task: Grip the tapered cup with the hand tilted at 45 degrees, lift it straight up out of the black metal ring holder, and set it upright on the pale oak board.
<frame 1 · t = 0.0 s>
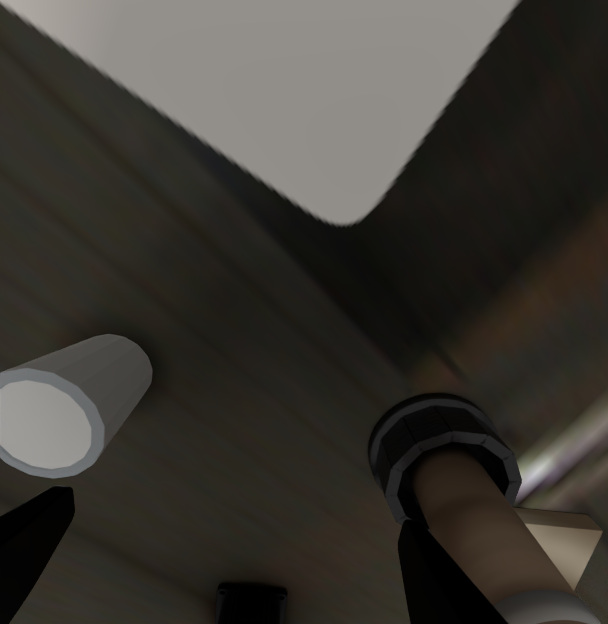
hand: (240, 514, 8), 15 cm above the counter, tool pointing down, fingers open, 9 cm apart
oak board: (499, 560, 28), on the counter
tapered cup: (435, 457, 24), point 1 cm above the counter, touching ring holder
ring holder: (430, 448, 25), on the counter
shot glass: (116, 368, 24), on the counter
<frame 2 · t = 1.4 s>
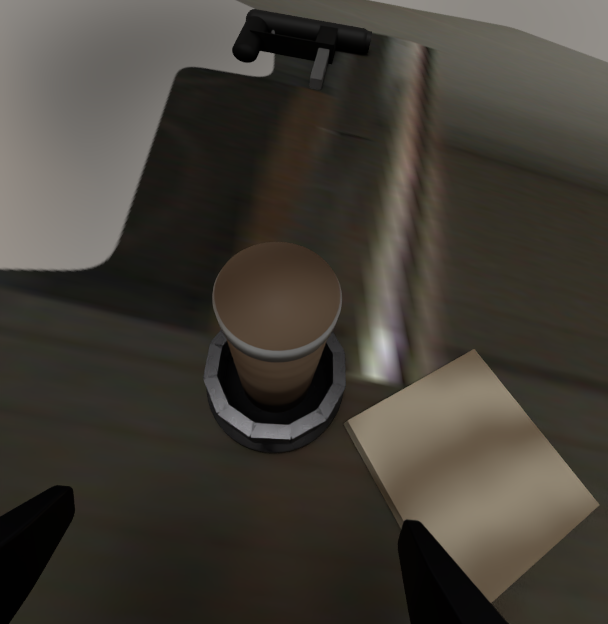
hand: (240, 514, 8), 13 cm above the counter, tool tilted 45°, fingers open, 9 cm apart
oak board: (458, 462, 22), on the counter
tapered cup: (276, 377, 23), point 1 cm above the counter, touching ring holder
door handle: (301, 62, 49), on the counter
ring holder: (276, 381, 24), on the counter
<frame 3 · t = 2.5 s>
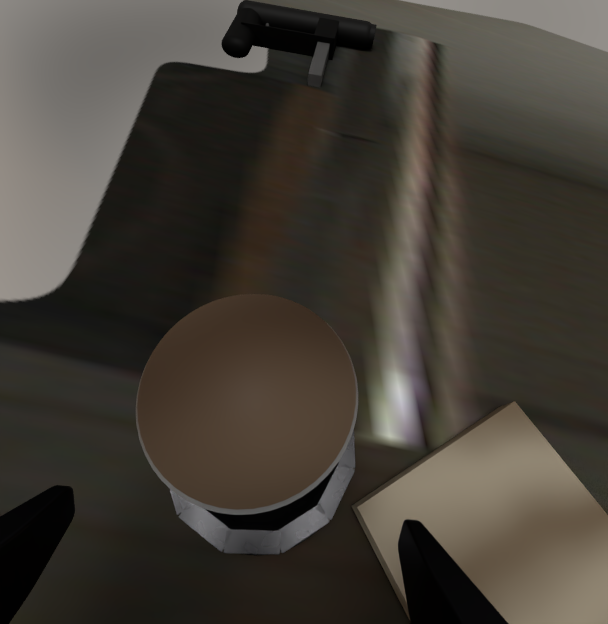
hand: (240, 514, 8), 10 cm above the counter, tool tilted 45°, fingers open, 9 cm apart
oak board: (502, 558, 17), on the counter
tapered cup: (264, 444, 18), point 1 cm above the counter, touching ring holder
door handle: (298, 58, 44), on the counter
ring holder: (264, 446, 19), on the counter
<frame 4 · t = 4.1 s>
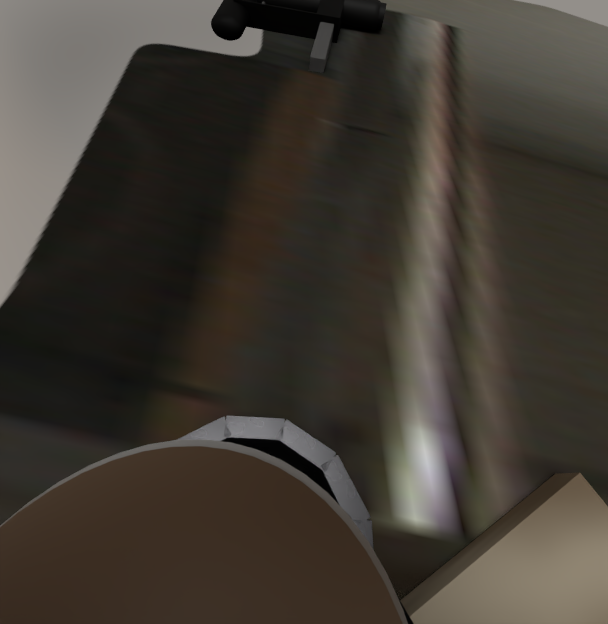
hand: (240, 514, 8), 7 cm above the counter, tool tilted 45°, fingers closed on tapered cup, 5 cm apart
tapered cup: (247, 543, 13), point 1 cm above the counter, touching gripper, ring holder
door handle: (298, 41, 39), on the counter
ring holder: (249, 539, 14), on the counter
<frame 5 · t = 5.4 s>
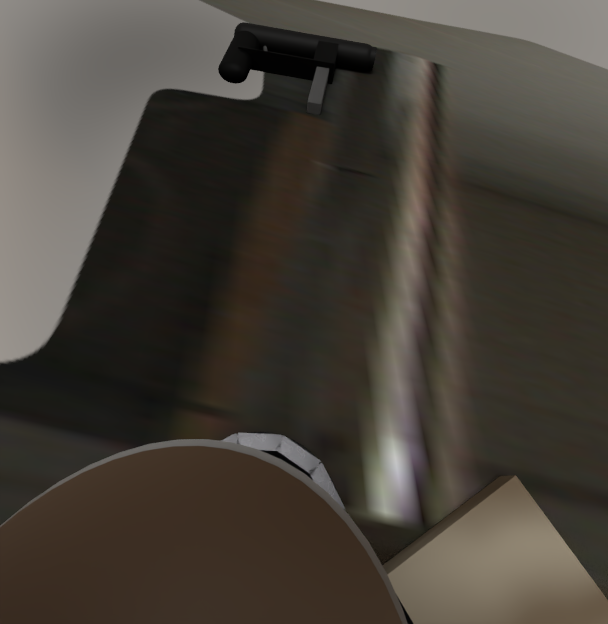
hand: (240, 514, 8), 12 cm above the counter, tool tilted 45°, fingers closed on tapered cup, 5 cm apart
tapered cup: (247, 542, 13), point 6 cm above the counter, touching gripper
door handle: (297, 82, 43), on the counter
ring holder: (254, 527, 18), on the counter
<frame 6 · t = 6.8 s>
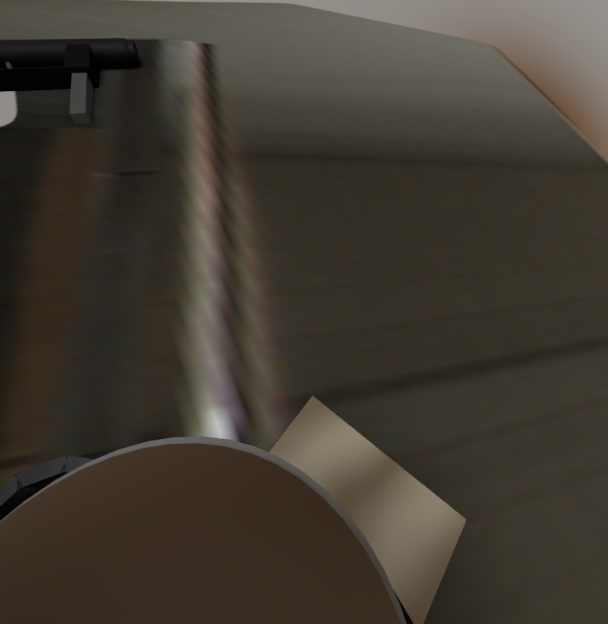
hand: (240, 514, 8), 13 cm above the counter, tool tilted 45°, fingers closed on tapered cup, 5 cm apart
oak board: (328, 538, 19), on the counter
tapered cup: (246, 542, 13), point 7 cm above the counter, touching gripper
door handle: (60, 93, 40), on the counter
ring holder: (87, 547, 18), on the counter
when the fingers open (8 cm above the counter, at t = 8.9 s): tapered cup stays where it is, resting on oak board.
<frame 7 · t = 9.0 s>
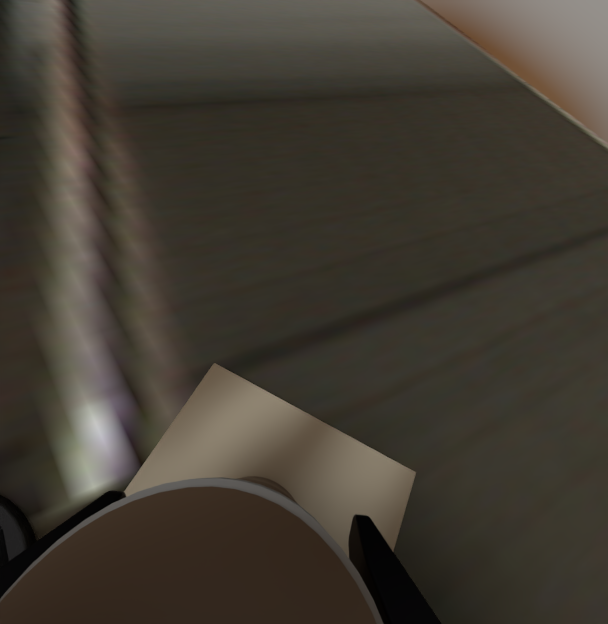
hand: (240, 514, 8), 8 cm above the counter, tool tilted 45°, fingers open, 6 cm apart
oak board: (251, 533, 15), on the counter
tapered cup: (249, 540, 14), point 2 cm above the counter, touching oak board
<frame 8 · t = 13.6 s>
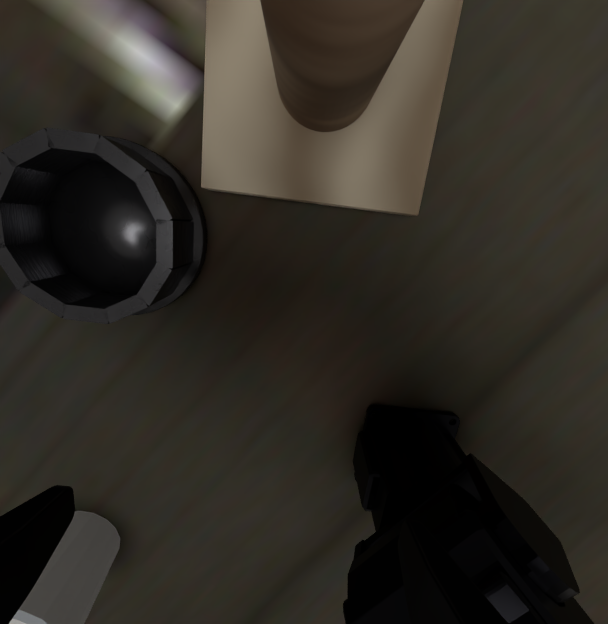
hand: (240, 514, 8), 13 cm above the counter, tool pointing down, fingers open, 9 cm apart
oak board: (324, 87, 17), on the counter
tapered cup: (326, 76, 16), point 1 cm above the counter, touching oak board
ring holder: (125, 231, 19), on the counter
shot glass: (87, 535, 26), on the counter
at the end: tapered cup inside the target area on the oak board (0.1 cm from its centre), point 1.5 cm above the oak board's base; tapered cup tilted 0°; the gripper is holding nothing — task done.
